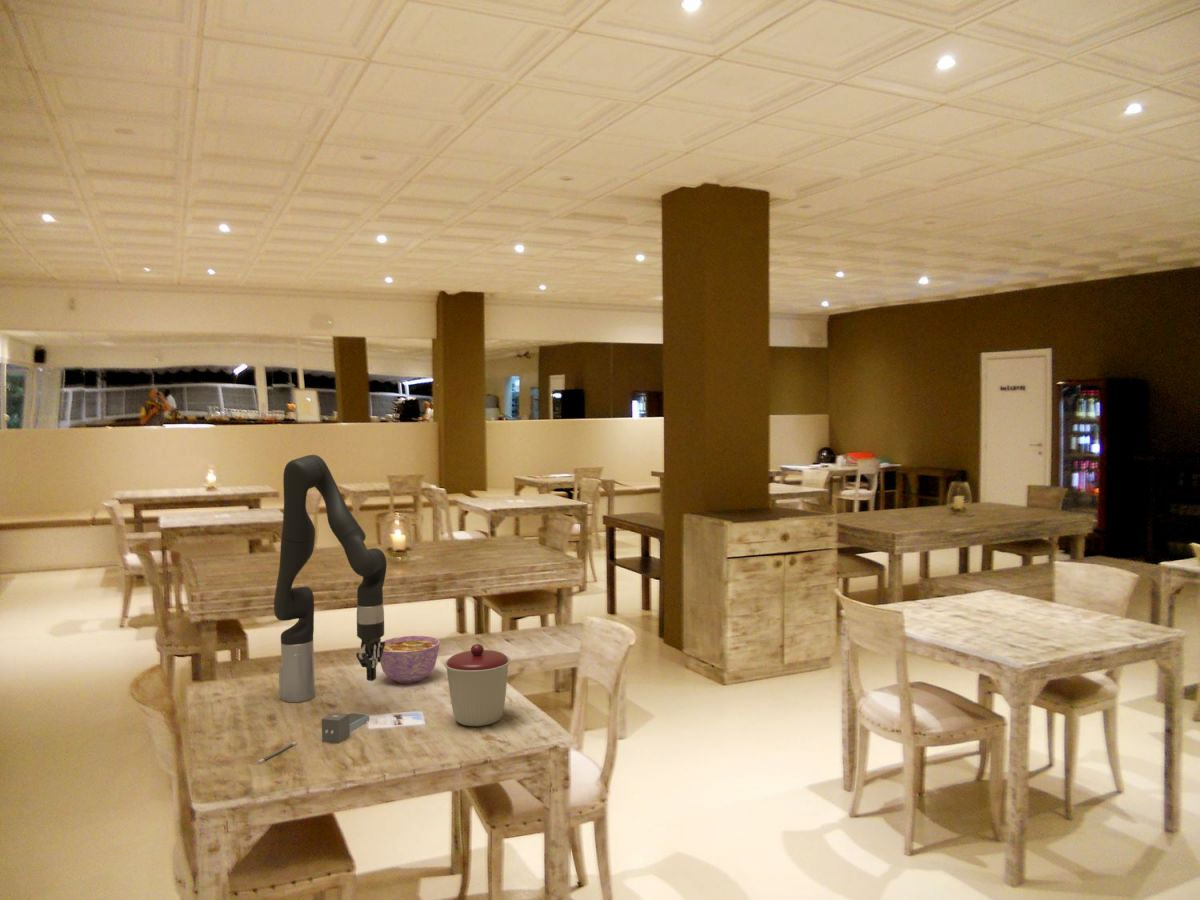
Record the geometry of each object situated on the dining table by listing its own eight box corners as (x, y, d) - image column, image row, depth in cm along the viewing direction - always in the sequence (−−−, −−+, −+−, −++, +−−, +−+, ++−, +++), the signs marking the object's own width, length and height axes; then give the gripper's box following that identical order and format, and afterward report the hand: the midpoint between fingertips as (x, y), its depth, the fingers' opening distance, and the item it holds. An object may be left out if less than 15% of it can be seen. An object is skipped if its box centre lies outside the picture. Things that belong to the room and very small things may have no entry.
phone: (325, 733, 229) (325, 725, 229) (351, 720, 239) (351, 712, 239) (344, 736, 226) (343, 728, 226) (369, 722, 237) (369, 714, 237)
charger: (320, 743, 221) (319, 719, 221) (333, 734, 227) (332, 712, 226) (337, 744, 220) (336, 721, 220) (349, 736, 225) (349, 713, 225)
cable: (260, 763, 208) (260, 760, 208) (258, 762, 209) (258, 760, 209) (296, 744, 220) (296, 741, 220) (294, 743, 221) (294, 741, 221)
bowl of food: (373, 674, 280) (372, 639, 280) (435, 667, 287) (434, 633, 287) (380, 692, 261) (379, 654, 261) (446, 684, 269) (445, 647, 268)
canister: (525, 716, 238) (523, 641, 237) (481, 737, 223) (480, 656, 222) (476, 705, 248) (474, 633, 247) (431, 724, 233) (429, 647, 232)
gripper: (371, 626, 235) (372, 688, 236) (393, 614, 248) (394, 673, 249) (346, 625, 237) (347, 686, 238) (369, 613, 250) (370, 671, 251)
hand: (371, 679), depth 244 cm, fingers closed
